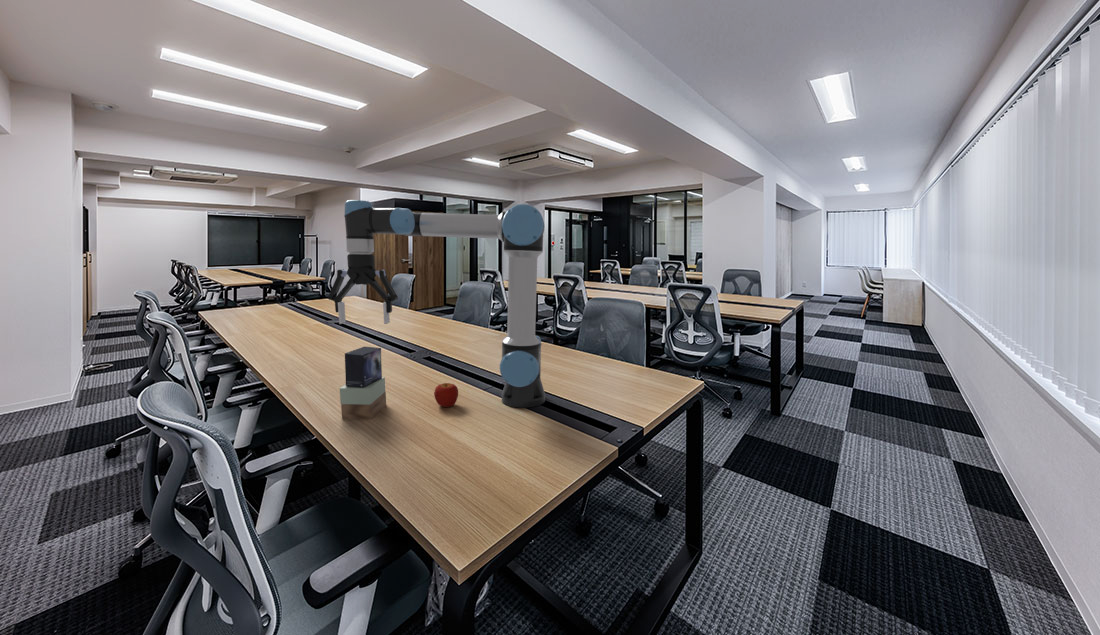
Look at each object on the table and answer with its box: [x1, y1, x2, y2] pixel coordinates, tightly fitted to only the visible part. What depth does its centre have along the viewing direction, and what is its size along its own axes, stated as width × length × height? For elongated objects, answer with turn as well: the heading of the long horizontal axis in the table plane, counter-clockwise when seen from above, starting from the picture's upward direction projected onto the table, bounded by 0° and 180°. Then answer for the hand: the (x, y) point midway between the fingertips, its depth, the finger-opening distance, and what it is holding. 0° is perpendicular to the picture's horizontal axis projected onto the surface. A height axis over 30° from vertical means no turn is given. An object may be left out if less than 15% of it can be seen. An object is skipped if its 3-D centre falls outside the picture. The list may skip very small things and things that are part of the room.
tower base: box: [340, 390, 387, 420], centre depth 136 cm, size 9×12×5 cm
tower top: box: [339, 376, 386, 405], centre depth 135 cm, size 9×12×5 cm
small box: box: [344, 345, 383, 388], centre depth 133 cm, size 11×6×10 cm, turn 171°
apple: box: [433, 382, 459, 408], centre depth 141 cm, size 8×8×8 cm
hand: (364, 323), depth 131 cm, fingers open, 13 cm apart
